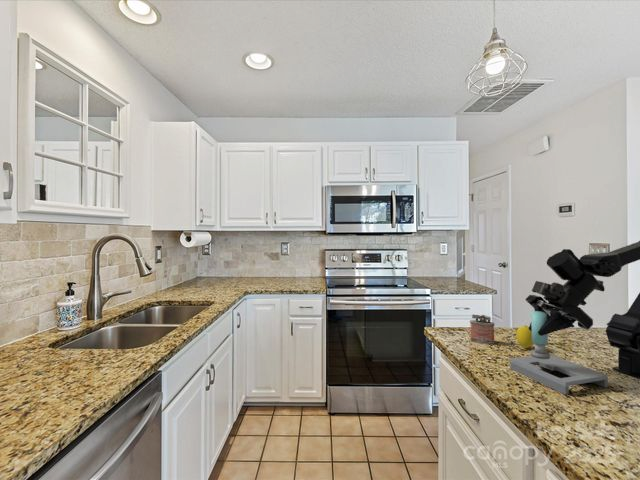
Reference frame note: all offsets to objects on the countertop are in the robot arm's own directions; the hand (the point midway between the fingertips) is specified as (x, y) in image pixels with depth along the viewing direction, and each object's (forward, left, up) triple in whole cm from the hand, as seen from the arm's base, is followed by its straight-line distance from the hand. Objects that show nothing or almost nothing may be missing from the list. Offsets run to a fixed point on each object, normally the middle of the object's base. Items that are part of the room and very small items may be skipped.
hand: (534, 332), depth 86 cm
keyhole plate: (-5, +2, -12) cm, 13 cm away
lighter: (-8, -28, -12) cm, 32 cm away
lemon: (-17, -18, -12) cm, 28 cm away
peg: (-1, 0, -7) cm, 7 cm away
